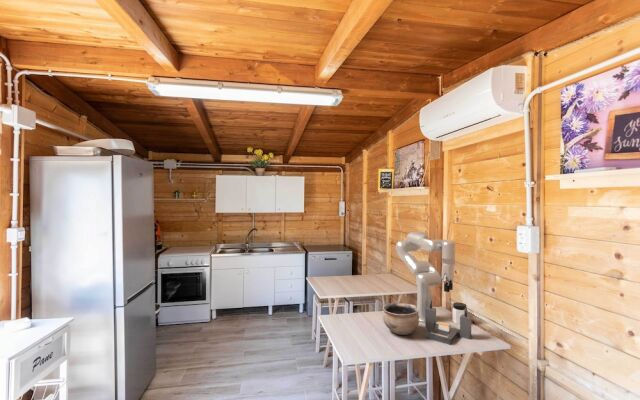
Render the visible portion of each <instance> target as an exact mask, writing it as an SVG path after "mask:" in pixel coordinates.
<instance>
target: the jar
mask: <svg viewBox="0 0 640 400" xmlns="http://www.w3.org/2000/svg"><path fill="white" fill-rule="evenodd" d="M452 305H453V306H452V313H451V314H452V320H451V321H452V322H454V324H456V325H460V316H461V315H464V308H465V307H466V308H467V304H466V303H463V302H454V303H453V304H452Z"/></svg>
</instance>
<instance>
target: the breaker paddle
mask: <svg viewBox="0 0 640 400" xmlns="http://www.w3.org/2000/svg"><path fill="white" fill-rule="evenodd" d="M438 324H439V329H440V330H443V331H447V332H449V331H450V327H451V324H449V323H445V322H441V321H439V322H438Z"/></svg>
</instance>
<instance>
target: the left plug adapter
mask: <svg viewBox="0 0 640 400" xmlns="http://www.w3.org/2000/svg"><path fill="white" fill-rule="evenodd" d="M424 323H425V329H429V330H430V329H431V328H432V327H433V326H435V325H436V324H437V308H435V307H433V299H432V300H430V307H428V308H426V309H425V322H424Z"/></svg>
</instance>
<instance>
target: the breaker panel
mask: <svg viewBox="0 0 640 400" xmlns="http://www.w3.org/2000/svg"><path fill="white" fill-rule="evenodd" d="M459 337H460V328H455V327H451V326H450V331H449V332H447V331H443V330H440V329H439V323H436V325H435V326H433V327H432V328H431V329H429V330H427V331H426V332H425V338H426V339H429V340H432V341H436V342H439V343H442V344H446V345H452V344H453V343H454V341H456V340H457V339H458V338H459Z"/></svg>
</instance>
